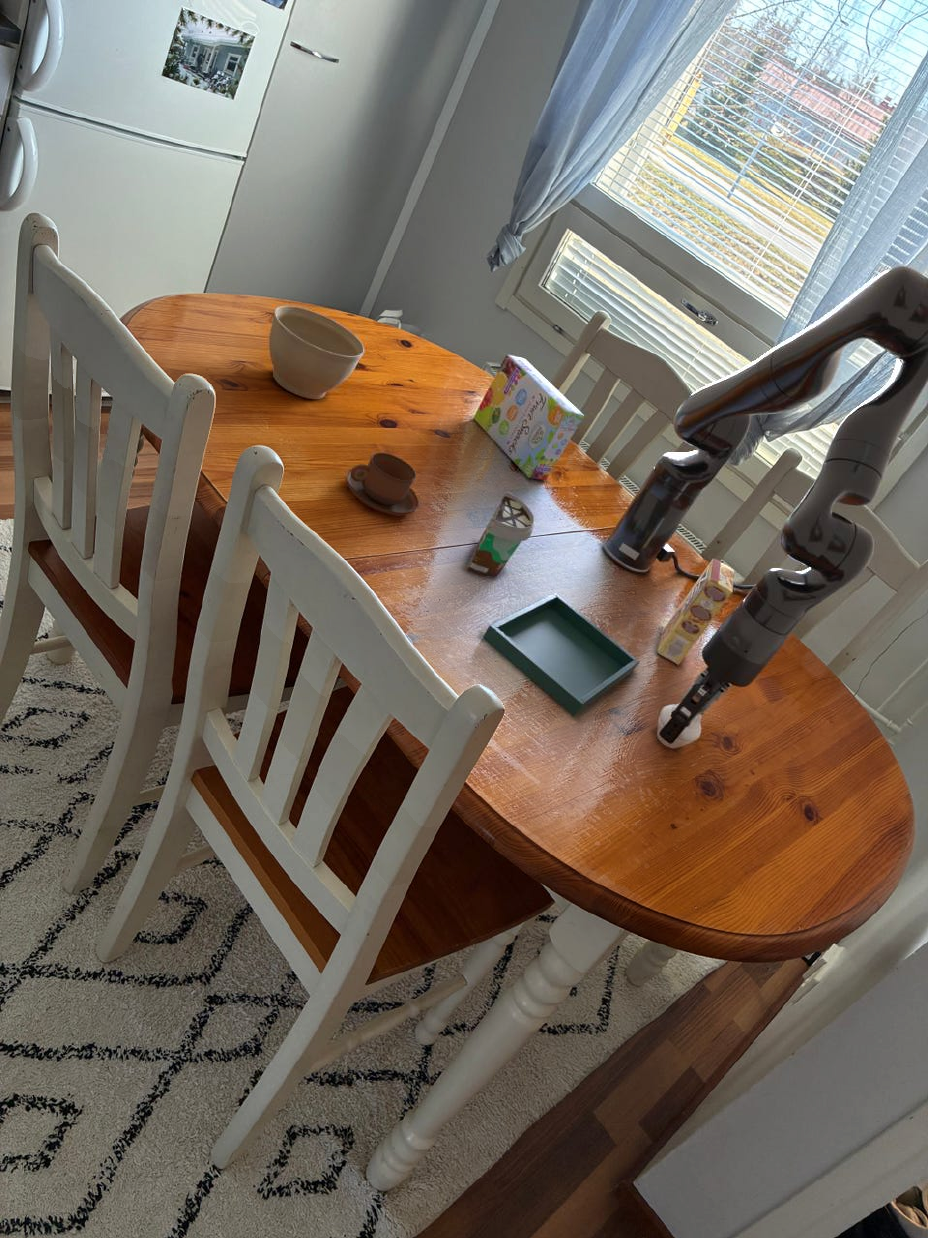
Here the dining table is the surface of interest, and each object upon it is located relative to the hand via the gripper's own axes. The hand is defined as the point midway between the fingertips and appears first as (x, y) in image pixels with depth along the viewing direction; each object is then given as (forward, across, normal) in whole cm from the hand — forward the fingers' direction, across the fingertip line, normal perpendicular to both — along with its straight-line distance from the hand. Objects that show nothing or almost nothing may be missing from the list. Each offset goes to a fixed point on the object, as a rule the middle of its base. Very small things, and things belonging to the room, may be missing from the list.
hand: (676, 727), depth 129 cm
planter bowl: (+3, +12, +88) cm, 89 cm away
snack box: (+3, +48, +62) cm, 78 cm away
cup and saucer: (+3, 0, +57) cm, 57 cm away
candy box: (+3, +23, +10) cm, 26 cm away
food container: (+3, +6, +38) cm, 38 cm away
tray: (+3, -1, +19) cm, 19 cm away
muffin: (+3, 0, 0) cm, 3 cm away
